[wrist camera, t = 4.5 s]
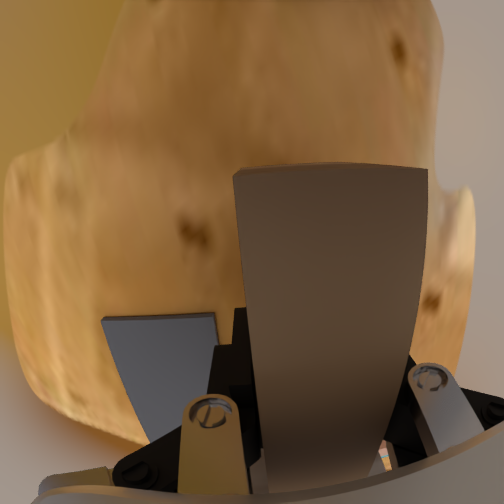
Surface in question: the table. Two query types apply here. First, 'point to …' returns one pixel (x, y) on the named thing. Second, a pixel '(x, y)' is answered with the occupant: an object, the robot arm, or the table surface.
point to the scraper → (328, 311)
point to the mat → (162, 364)
